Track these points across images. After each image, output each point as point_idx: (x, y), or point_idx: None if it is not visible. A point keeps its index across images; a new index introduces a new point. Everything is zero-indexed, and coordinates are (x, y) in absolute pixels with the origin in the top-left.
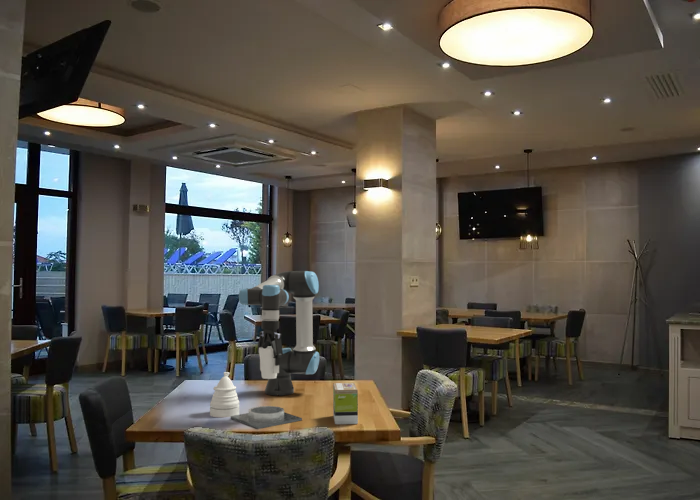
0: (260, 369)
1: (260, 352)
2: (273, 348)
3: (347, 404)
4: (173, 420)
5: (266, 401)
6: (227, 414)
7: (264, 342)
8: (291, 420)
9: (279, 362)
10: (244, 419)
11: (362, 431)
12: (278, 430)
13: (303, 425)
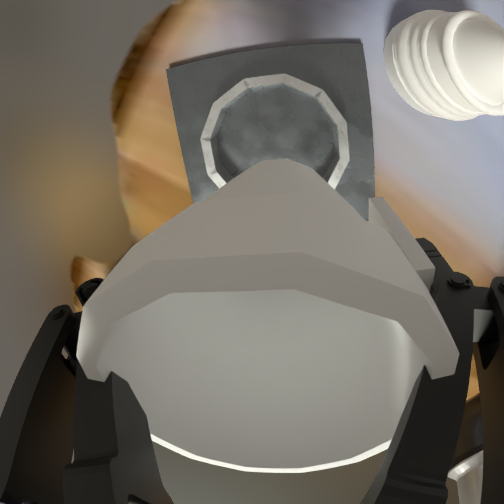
0: (376, 200)
1: (244, 206)
2: (82, 381)
3: None
4: None
5: (476, 265)
6: (387, 44)
7: (382, 480)
8: (192, 198)
9: None
10: (284, 59)
11: (74, 290)
12: (128, 123)
13: (149, 211)
